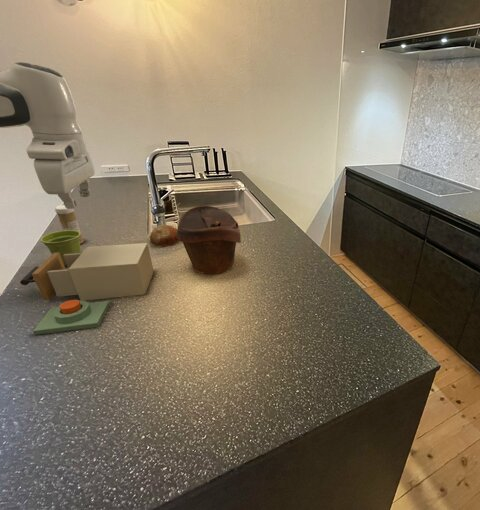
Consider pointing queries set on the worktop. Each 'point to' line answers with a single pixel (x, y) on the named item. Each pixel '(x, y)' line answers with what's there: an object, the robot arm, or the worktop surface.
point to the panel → (72, 318)
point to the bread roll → (164, 236)
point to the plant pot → (63, 242)
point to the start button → (70, 306)
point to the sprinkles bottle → (68, 219)
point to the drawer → (53, 276)
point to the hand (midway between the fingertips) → (79, 201)
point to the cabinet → (112, 271)
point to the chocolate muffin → (209, 238)
